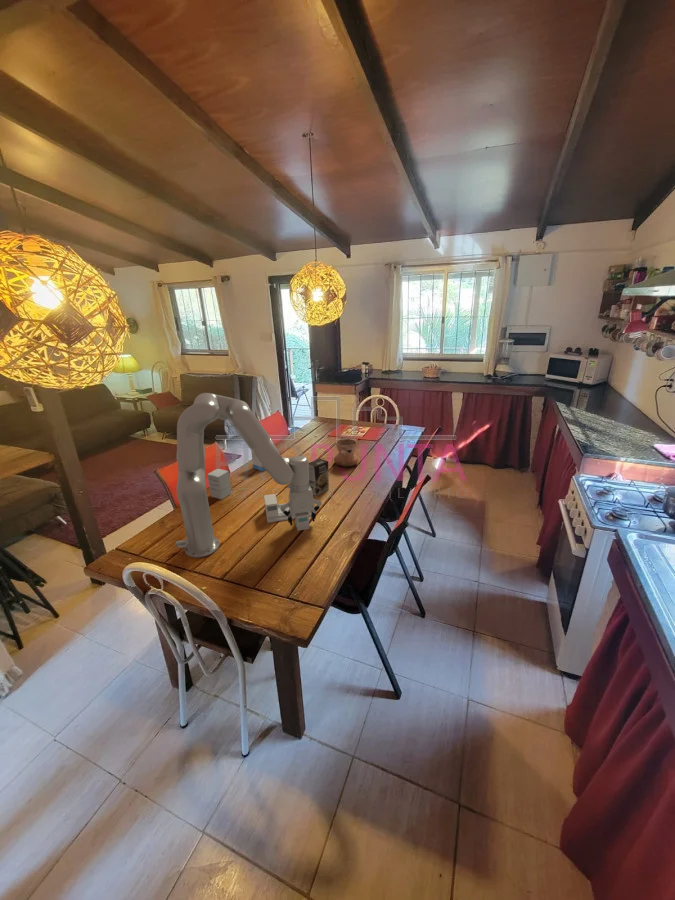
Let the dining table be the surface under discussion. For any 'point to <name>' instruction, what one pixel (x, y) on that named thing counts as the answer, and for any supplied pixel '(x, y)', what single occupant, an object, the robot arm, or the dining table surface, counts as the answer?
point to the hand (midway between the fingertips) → (302, 521)
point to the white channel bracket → (275, 509)
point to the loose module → (302, 521)
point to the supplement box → (219, 483)
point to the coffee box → (318, 476)
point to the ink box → (257, 463)
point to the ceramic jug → (346, 452)
